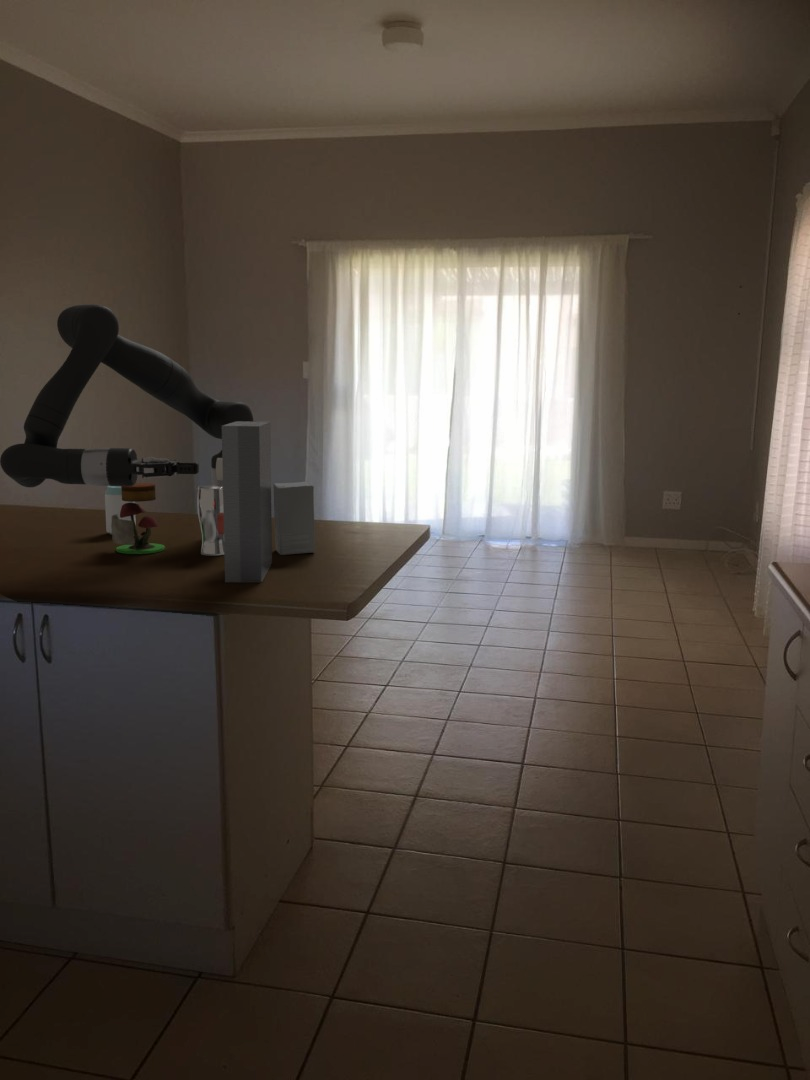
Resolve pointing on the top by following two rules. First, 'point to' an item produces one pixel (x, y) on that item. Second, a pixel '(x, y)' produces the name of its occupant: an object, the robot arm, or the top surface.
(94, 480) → the robot arm
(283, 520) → the skincare box
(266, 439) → the tall grey block
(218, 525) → the red button
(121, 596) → the top surface
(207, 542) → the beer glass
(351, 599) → the top surface
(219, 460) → the white cylinder
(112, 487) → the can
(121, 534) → the mushroom figurine
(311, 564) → the top surface
